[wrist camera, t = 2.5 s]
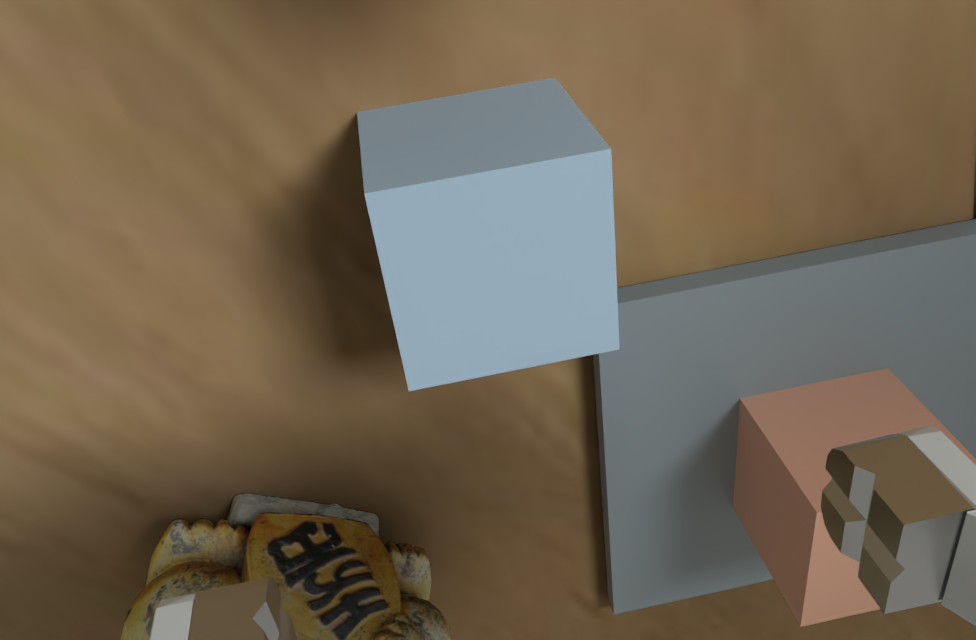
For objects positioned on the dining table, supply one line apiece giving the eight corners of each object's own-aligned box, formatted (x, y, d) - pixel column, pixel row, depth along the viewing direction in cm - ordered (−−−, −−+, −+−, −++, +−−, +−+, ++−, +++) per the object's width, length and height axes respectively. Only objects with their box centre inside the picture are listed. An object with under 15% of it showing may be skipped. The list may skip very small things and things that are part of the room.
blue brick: (554, 76, 21) (610, 148, 17) (567, 249, 23) (619, 349, 19) (357, 111, 20) (364, 193, 16) (394, 283, 23) (408, 391, 19)
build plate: (1034, 207, 25) (1053, 218, 24) (948, 522, 33) (960, 537, 32) (588, 293, 24) (596, 307, 24) (608, 597, 32) (613, 614, 31)
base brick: (887, 368, 27) (991, 474, 23) (867, 478, 29) (955, 592, 25) (740, 398, 26) (816, 512, 22) (733, 507, 29) (800, 627, 25)
